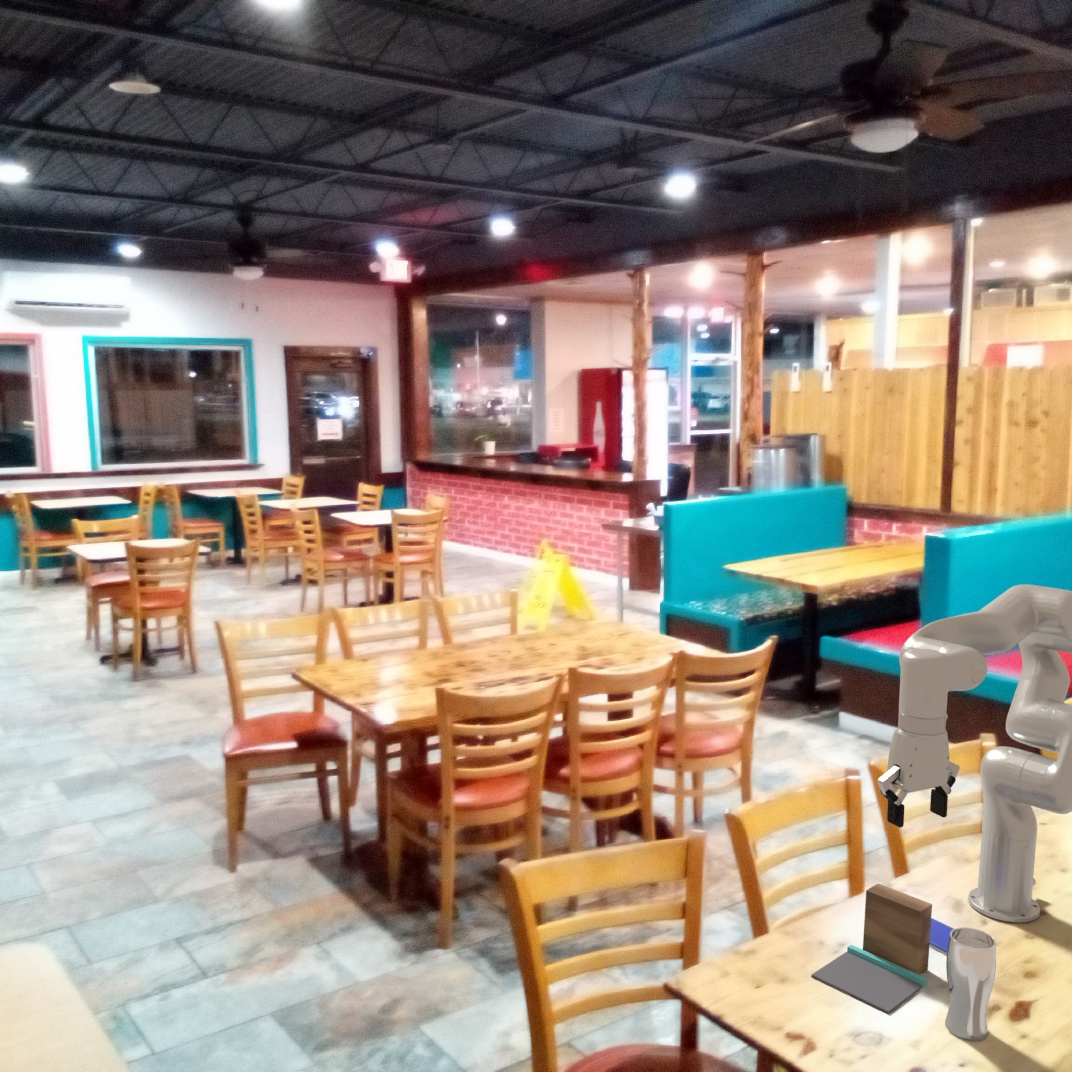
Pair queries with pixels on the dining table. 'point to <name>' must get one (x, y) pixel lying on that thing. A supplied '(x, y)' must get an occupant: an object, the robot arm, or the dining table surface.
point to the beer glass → (969, 982)
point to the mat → (867, 982)
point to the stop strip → (887, 965)
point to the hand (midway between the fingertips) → (916, 819)
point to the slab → (897, 928)
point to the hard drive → (939, 936)
